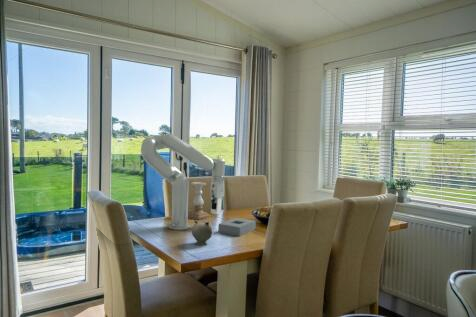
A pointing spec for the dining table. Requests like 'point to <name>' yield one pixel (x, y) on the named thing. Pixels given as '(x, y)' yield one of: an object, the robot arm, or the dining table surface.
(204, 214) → the candle holder
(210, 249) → the dining table surface
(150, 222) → the dining table surface
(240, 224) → the grey flat block
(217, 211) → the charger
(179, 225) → the robot arm
